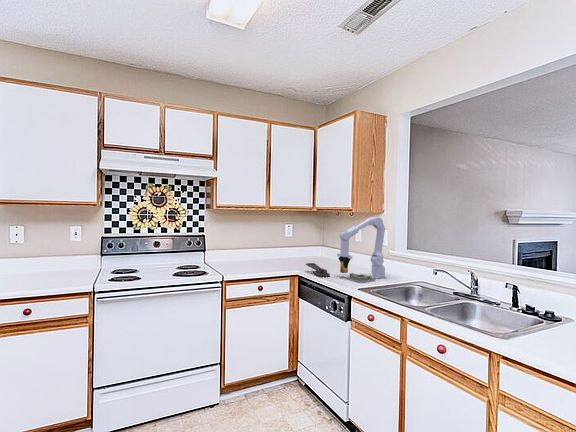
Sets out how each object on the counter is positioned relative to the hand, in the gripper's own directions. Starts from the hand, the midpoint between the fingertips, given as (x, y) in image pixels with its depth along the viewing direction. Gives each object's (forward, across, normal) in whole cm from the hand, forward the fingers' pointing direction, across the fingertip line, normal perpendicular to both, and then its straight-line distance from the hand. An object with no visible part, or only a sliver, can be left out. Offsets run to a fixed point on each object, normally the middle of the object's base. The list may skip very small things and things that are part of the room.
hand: (344, 267), depth 237 cm
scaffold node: (+7, +10, +5) cm, 14 cm away
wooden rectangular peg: (+3, 0, 0) cm, 4 cm away
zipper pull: (+8, -18, -11) cm, 22 cm away
